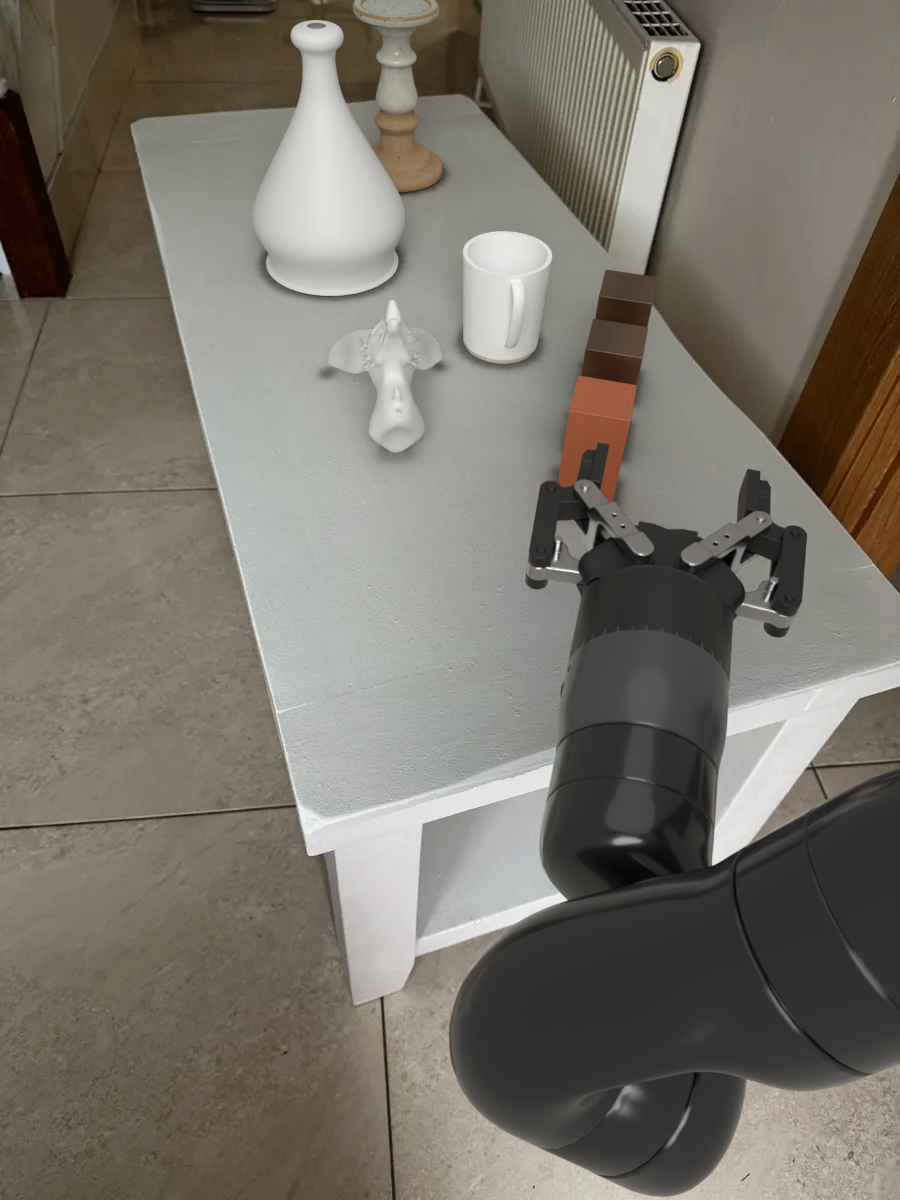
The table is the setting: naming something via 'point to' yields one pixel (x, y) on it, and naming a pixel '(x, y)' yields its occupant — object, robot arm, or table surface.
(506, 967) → the robot arm
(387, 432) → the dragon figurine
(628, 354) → the walnut block mid
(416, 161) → the candle holder
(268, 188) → the vase
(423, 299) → the table surface
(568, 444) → the terracotta block
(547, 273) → the mug
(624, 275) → the walnut block far
